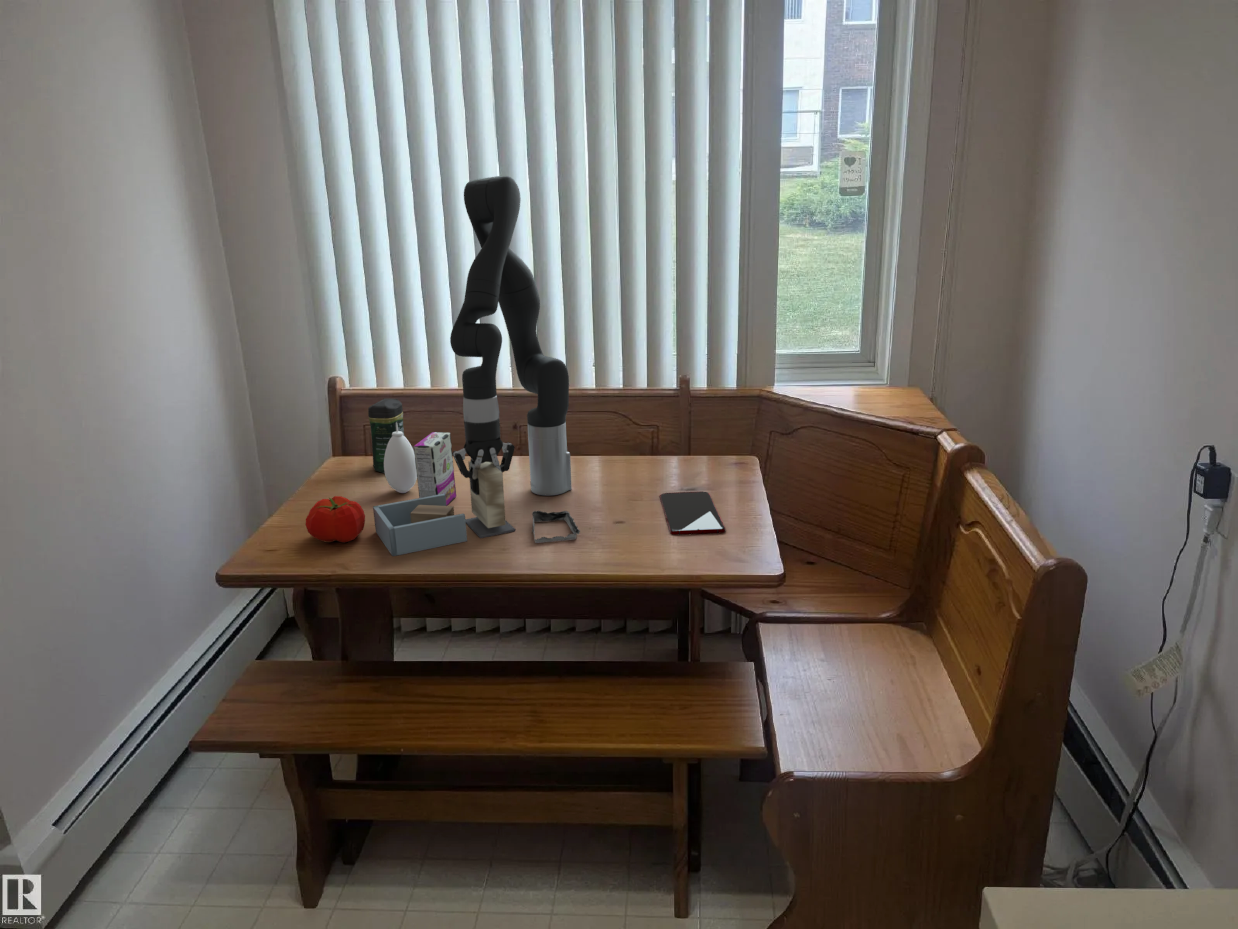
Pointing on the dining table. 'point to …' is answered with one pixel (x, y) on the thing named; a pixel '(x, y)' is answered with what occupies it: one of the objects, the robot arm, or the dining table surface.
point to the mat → (486, 532)
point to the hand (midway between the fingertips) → (486, 491)
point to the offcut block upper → (430, 512)
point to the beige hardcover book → (489, 496)
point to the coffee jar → (384, 427)
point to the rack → (417, 526)
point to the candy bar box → (435, 466)
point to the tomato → (335, 520)
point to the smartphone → (691, 513)
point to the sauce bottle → (400, 463)
